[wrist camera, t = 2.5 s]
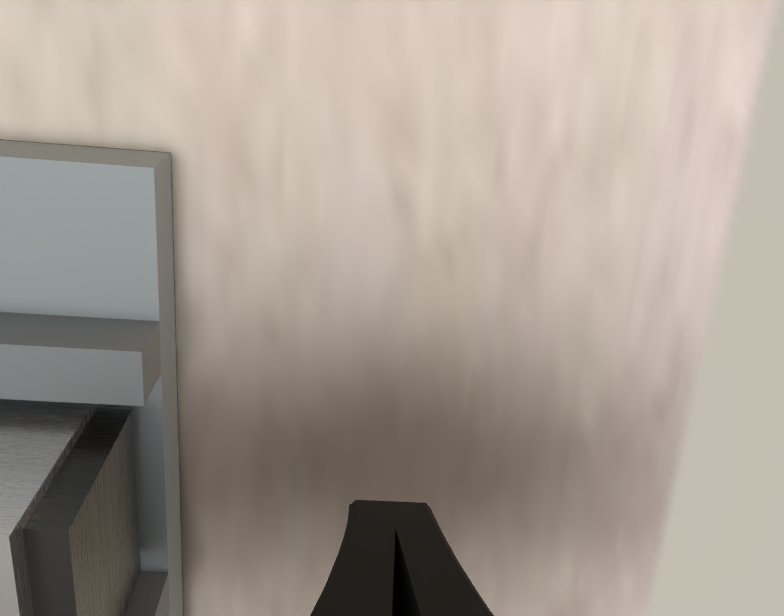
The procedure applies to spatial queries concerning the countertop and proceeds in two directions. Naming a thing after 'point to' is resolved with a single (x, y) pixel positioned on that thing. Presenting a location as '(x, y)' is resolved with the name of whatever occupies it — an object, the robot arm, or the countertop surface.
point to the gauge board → (99, 317)
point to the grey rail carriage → (67, 509)
